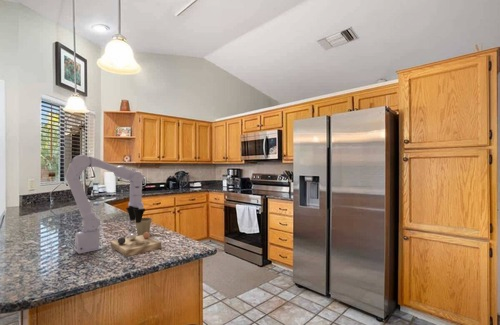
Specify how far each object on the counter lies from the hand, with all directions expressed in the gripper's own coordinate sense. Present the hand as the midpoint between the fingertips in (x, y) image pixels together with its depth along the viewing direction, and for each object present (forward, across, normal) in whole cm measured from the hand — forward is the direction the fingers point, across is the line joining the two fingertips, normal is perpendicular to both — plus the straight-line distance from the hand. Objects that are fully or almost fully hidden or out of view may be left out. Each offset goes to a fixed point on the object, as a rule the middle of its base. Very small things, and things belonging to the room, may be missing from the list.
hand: (135, 221), depth 132 cm
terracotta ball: (+6, -8, -2) cm, 10 cm away
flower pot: (+10, +10, -8) cm, 17 cm away
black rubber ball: (+6, -9, +10) cm, 15 cm away
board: (+10, -10, +4) cm, 15 cm away
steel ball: (+6, -6, +4) cm, 9 cm away
